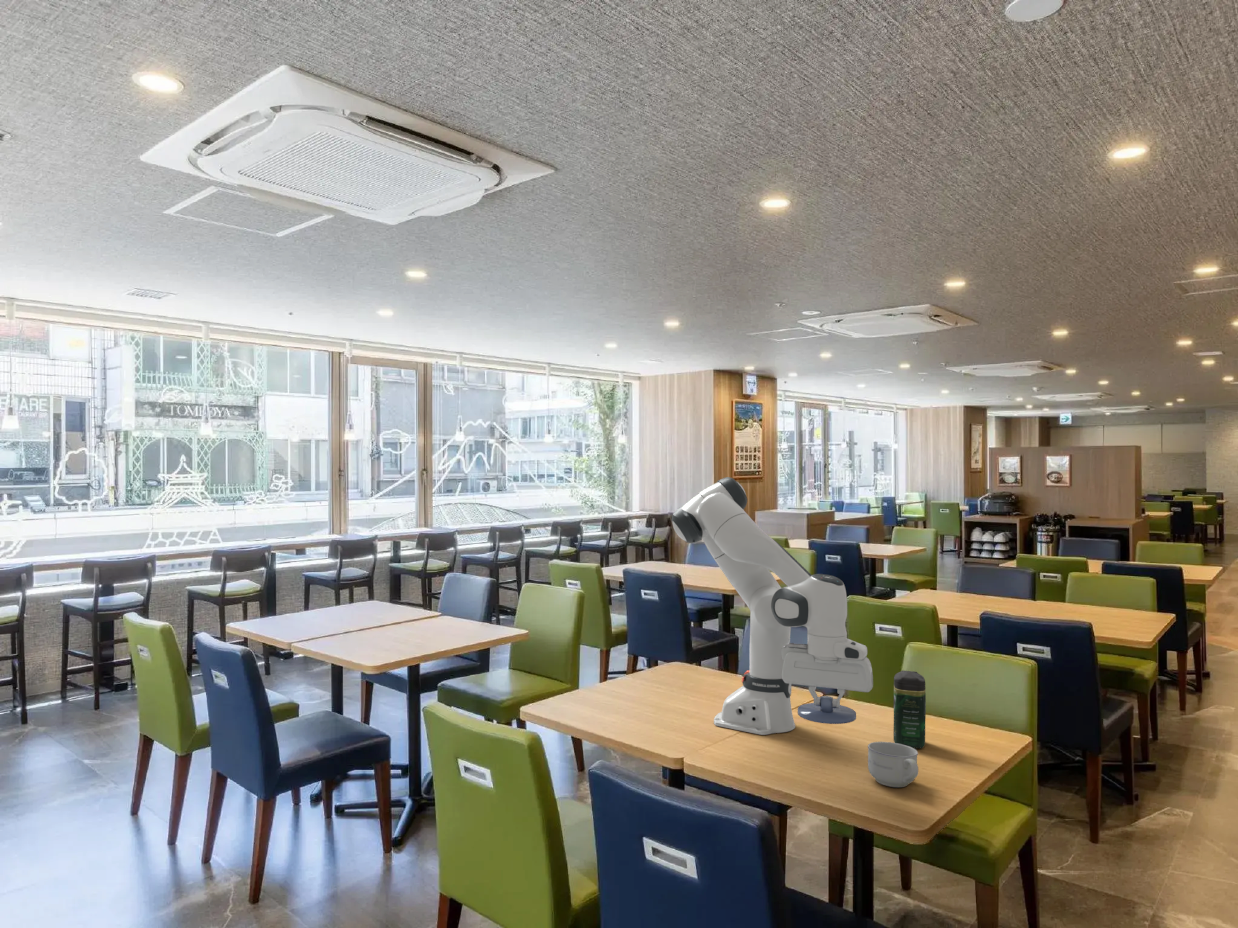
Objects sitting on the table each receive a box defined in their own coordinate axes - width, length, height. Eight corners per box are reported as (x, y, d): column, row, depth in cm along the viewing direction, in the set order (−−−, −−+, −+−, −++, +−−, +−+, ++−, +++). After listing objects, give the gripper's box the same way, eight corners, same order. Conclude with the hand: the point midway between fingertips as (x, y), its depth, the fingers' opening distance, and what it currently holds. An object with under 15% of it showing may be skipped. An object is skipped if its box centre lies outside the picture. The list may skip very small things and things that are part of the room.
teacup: (860, 774, 186) (860, 740, 186) (905, 773, 187) (905, 738, 187) (885, 798, 172) (885, 761, 173) (933, 796, 173) (933, 759, 173)
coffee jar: (926, 751, 202) (926, 678, 202) (893, 748, 204) (893, 675, 205) (924, 739, 211) (924, 669, 211) (893, 736, 214) (893, 667, 214)
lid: (792, 719, 179) (792, 701, 179) (803, 704, 191) (803, 687, 191) (852, 726, 174) (852, 708, 174) (859, 711, 186) (859, 693, 186)
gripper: (779, 644, 184) (778, 704, 184) (871, 652, 176) (871, 715, 176) (784, 639, 190) (784, 697, 190) (874, 647, 182) (873, 708, 181)
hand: (826, 706), depth 183 cm, fingers closed on lid, 3 cm apart
